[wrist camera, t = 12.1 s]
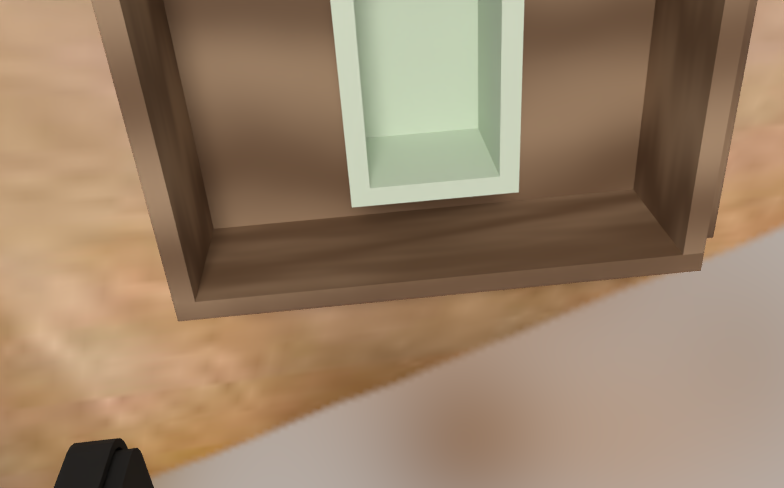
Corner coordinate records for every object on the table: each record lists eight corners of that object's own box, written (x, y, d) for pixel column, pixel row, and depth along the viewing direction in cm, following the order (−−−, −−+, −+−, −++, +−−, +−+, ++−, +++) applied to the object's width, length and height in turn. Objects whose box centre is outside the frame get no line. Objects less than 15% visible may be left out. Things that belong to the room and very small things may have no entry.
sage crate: (321, -118, 26) (319, -99, 21) (494, -132, 26) (527, -115, 22) (348, 149, 31) (351, 207, 27) (492, 136, 31) (518, 192, 27)
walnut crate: (88, -243, 24) (23, -251, 19) (730, -292, 24) (836, -311, 19) (200, 239, 33) (178, 321, 28) (661, 195, 34) (721, 268, 29)
